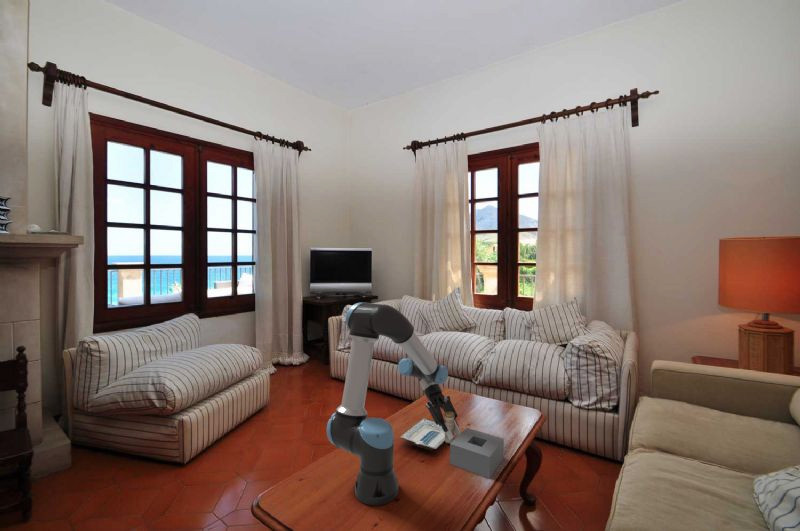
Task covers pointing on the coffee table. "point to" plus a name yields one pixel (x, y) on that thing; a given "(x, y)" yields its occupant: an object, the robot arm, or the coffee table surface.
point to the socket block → (477, 452)
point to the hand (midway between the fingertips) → (455, 437)
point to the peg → (450, 421)
